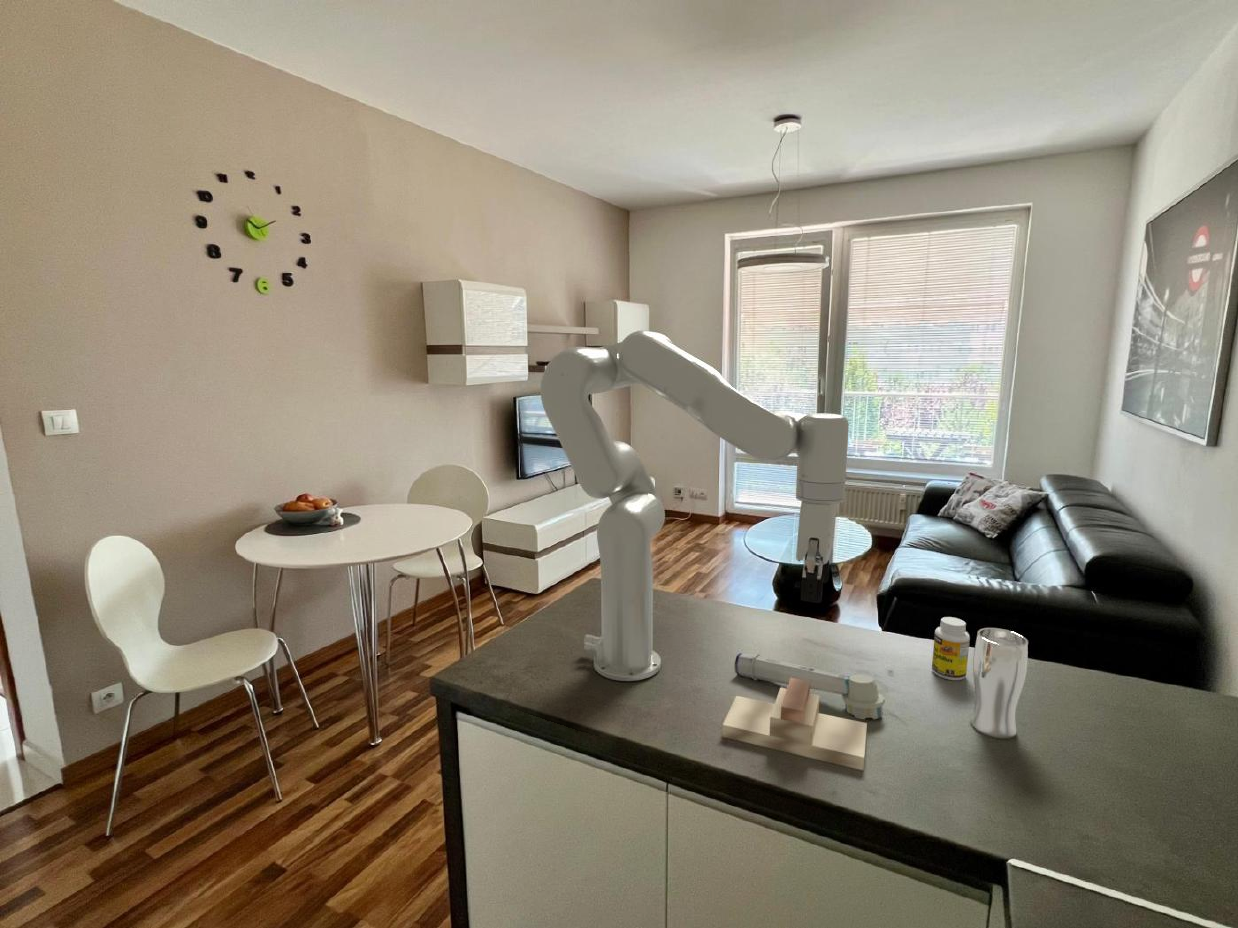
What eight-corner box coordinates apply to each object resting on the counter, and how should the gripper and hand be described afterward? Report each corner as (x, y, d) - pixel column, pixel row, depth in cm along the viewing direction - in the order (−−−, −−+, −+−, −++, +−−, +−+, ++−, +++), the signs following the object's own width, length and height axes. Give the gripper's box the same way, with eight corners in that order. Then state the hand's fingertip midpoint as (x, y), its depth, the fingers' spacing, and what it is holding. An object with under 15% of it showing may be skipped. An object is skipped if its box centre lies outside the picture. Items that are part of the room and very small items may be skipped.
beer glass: (1001, 745, 92) (1011, 650, 90) (957, 721, 98) (966, 632, 96) (1029, 732, 95) (1039, 640, 93) (985, 710, 101) (993, 623, 99)
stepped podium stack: (722, 736, 95) (723, 694, 93) (736, 706, 103) (737, 667, 101) (863, 770, 87) (866, 724, 85) (866, 735, 95) (868, 692, 94)
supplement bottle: (924, 670, 115) (928, 617, 113) (946, 664, 117) (950, 612, 115) (951, 684, 110) (955, 629, 108) (973, 678, 112) (978, 624, 110)
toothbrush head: (744, 647, 116) (885, 669, 100) (748, 681, 116) (888, 708, 101) (731, 657, 112) (876, 682, 96) (735, 693, 112) (879, 723, 97)
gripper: (803, 479, 110) (798, 572, 113) (787, 499, 94) (782, 606, 97) (848, 482, 107) (842, 577, 110) (840, 503, 91) (833, 613, 94)
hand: (814, 591), depth 103 cm, fingers open, 9 cm apart
